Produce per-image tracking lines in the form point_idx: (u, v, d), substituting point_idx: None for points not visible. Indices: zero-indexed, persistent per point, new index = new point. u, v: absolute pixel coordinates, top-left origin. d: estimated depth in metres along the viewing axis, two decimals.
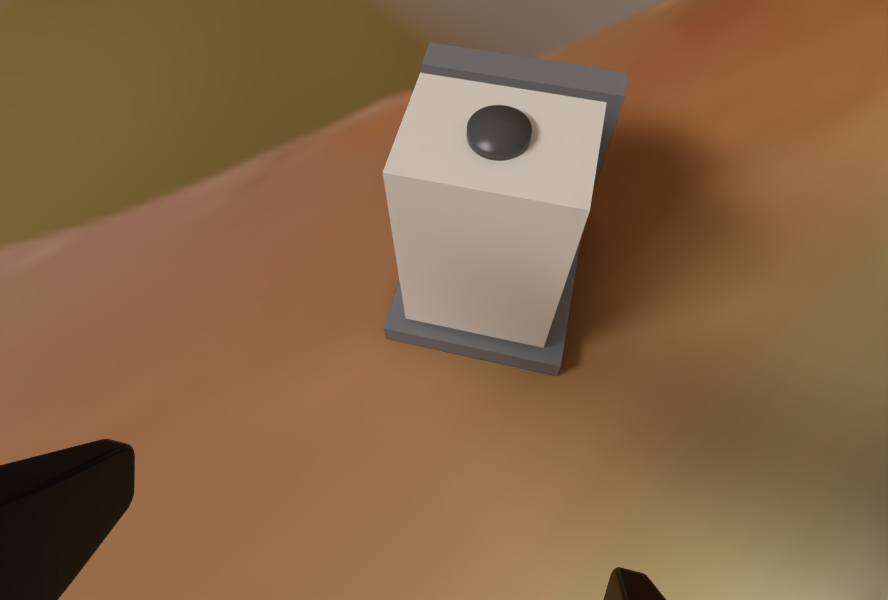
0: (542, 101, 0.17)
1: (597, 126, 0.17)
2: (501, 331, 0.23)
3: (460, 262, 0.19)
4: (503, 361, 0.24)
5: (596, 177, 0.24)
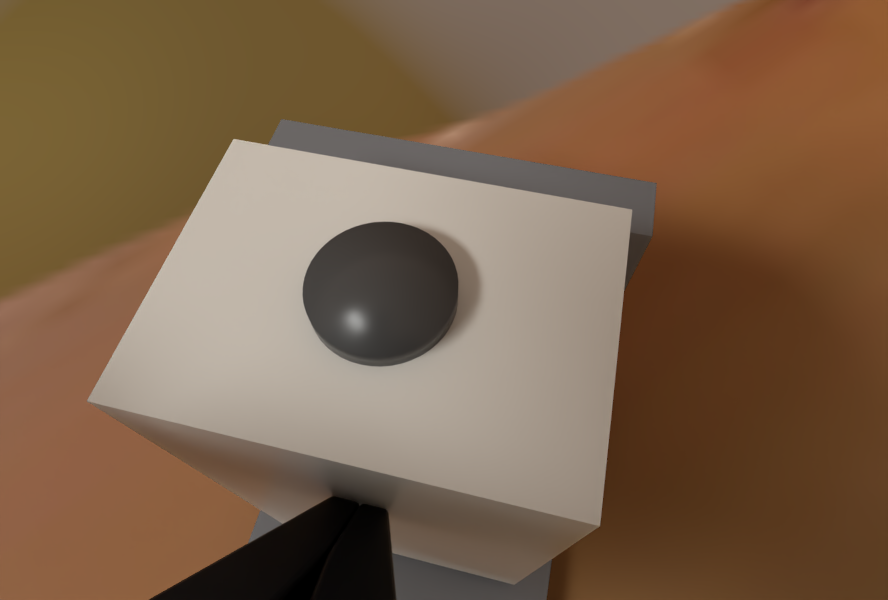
0: (489, 206, 0.08)
1: (613, 270, 0.07)
2: (440, 563, 0.13)
3: None
4: None
5: None
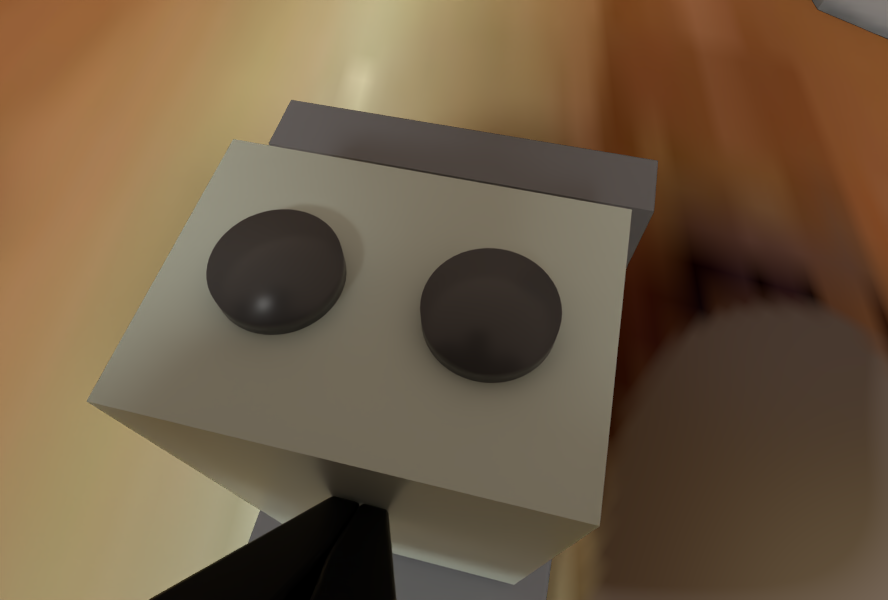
0: None
1: None
2: None
3: None
4: None
5: None
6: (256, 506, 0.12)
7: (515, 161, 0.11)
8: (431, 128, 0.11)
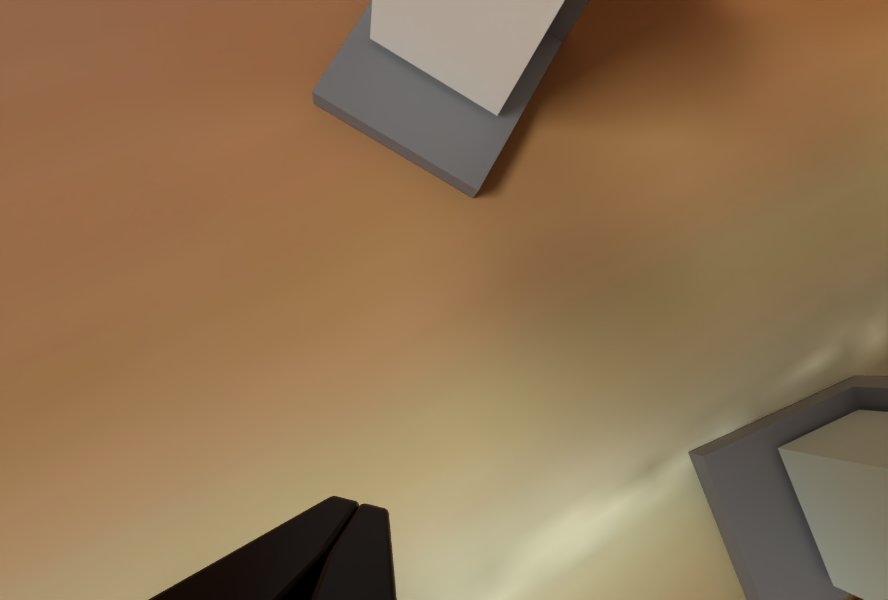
0: None
1: None
2: (461, 84, 0.22)
3: None
4: (425, 167, 0.23)
5: None
6: (829, 459, 0.20)
7: None
8: None
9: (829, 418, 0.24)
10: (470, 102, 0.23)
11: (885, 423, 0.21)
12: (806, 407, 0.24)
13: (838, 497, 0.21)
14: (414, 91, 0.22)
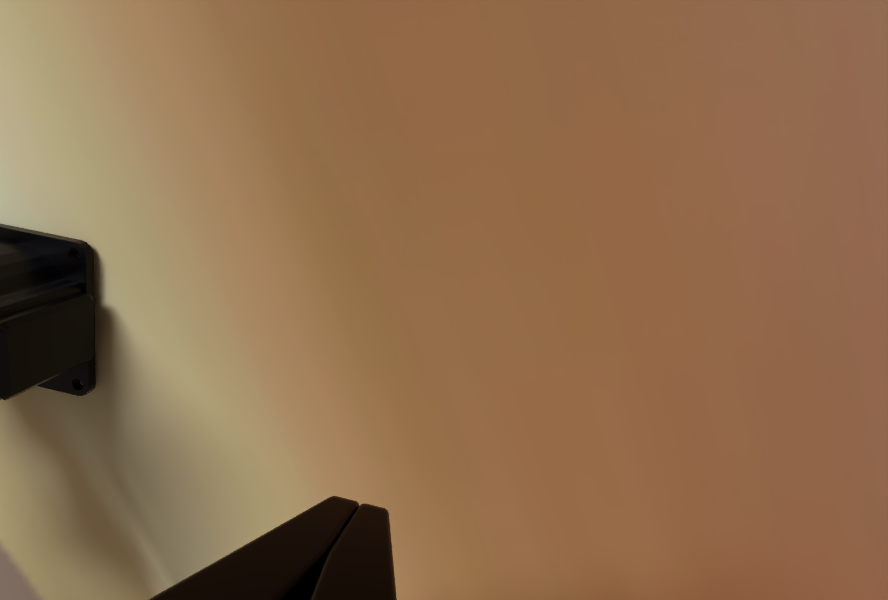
0: None
1: None
2: None
3: None
4: None
5: None
6: None
7: None
8: None
9: None
10: None
11: None
12: None
13: None
14: None
